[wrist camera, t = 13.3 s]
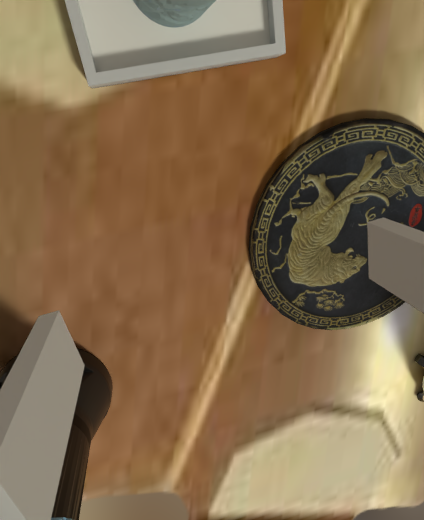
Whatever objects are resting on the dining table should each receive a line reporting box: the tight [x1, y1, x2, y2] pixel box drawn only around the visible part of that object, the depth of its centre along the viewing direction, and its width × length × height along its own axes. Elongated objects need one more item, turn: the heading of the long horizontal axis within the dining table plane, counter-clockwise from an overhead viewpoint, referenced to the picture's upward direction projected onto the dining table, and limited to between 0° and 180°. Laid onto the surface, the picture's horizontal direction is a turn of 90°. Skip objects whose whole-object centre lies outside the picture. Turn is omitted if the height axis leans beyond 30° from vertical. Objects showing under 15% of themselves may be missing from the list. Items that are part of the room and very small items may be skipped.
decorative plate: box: [249, 119, 424, 330], centre depth 46 cm, size 30×2×30 cm
